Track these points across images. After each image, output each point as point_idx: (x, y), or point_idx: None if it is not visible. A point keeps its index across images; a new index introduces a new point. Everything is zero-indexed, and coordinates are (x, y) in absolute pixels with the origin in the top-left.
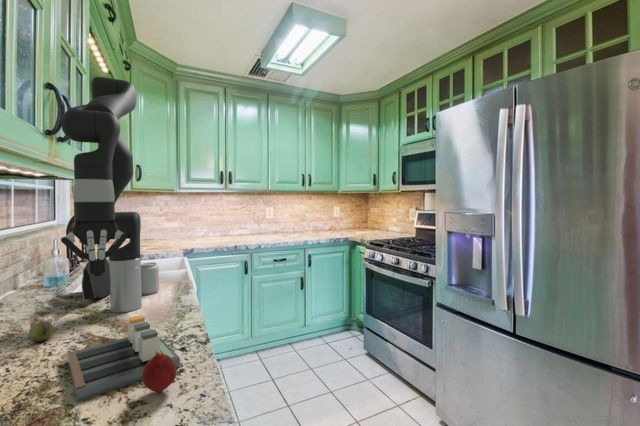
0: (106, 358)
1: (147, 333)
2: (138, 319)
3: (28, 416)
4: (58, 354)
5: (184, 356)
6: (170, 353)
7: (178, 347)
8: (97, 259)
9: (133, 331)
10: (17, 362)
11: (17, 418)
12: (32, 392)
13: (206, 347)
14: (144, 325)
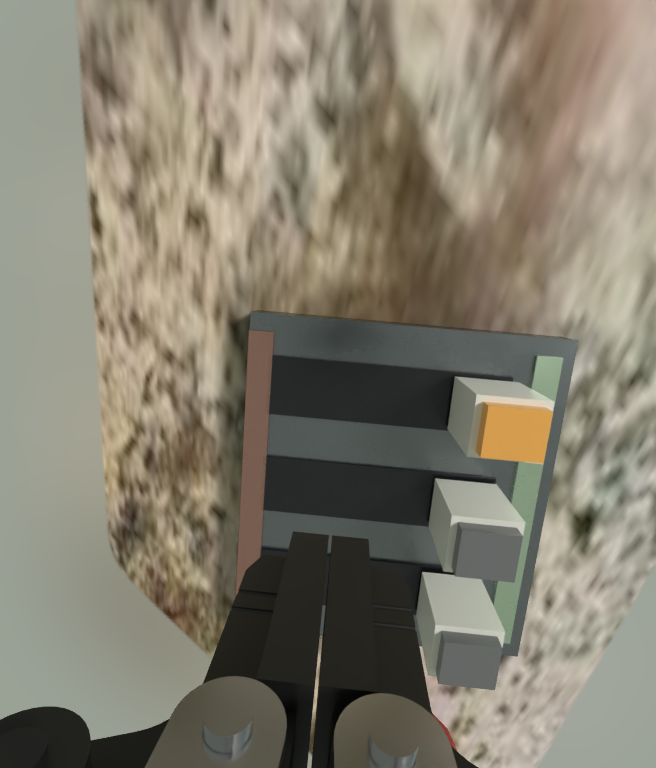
0: (342, 486)
1: (462, 669)
2: (512, 459)
3: (149, 582)
4: (240, 200)
5: (554, 581)
6: (510, 614)
7: (580, 499)
8: (329, 734)
9: (447, 540)
10: (118, 162)
11: (130, 572)
12: (158, 462)
13: (646, 577)
14: (493, 571)
